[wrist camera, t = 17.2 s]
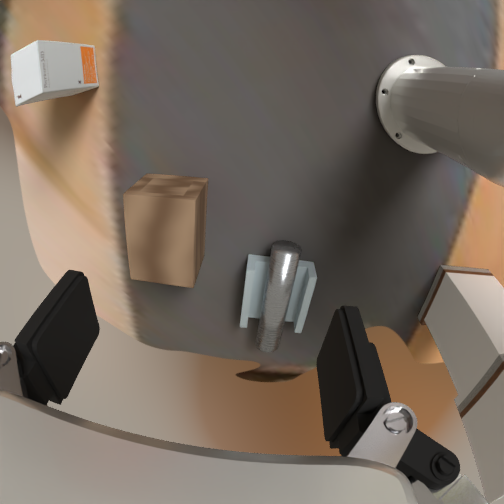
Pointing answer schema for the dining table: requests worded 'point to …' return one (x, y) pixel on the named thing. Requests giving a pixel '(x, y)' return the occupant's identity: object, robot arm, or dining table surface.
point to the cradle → (256, 288)
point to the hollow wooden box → (166, 228)
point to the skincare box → (52, 71)
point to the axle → (277, 294)
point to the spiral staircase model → (473, 360)
